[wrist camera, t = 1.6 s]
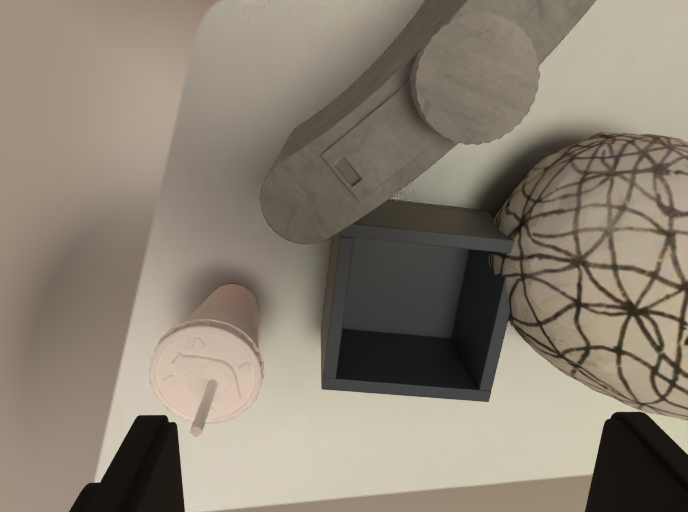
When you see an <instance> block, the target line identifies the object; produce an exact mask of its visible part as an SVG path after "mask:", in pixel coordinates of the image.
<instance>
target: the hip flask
mask: <svg viewBox="0 0 688 512" xmlns="http://www.w3.org/2000/svg"><path fill="white" fill-rule="evenodd" d="M595 1H596V0H426V1H425V2H424V4H423V5H422V6H421V8H420V9H419V11H418V12H417V14H416V15H415V16H414V18H413V19H412V20H411V21H410V23H409V24H408V25H407V27H406V28H405V29H404V30H403V32H402V33H401V34H400V35H399V36H398V38H397V39H396V40H395V41H394V42H393V43H392V45H391V46H390V47H389V48H388V49H387V50H386V51H385V52H384V53H383V54H382V56H381V57H380V58H379V59H378V60H377V61H376V62H375V63H374V64H373V65H372V66H371V67H370V68H369V69H368V70H367V71H366V72H365V73H364V74H363V75H362V76H361V77H360V78H359V79H358V80H357V81H356V82H354V83H353V84H352V85H351V86H350V87H349V88H348V89H347V90H346V91H345V92H343V93H342V94H341V95H340V96H339V97H338V98H336V99H335V100H334V101H333V102H331V103H330V104H329V105H328V106H326V107H325V108H324V109H323V110H321V111H320V112H318V113H317V114H316V115H314V116H313V117H311V118H310V119H308V120H307V121H305V122H304V123H302V124H301V125H299V126H298V127H297V128H295V129H294V131H293V132H292V133H291V135H290V137H289V138H288V140H287V142H286V144H285V145H284V147H283V149H282V151H281V152H280V154H279V156H278V158H277V159H276V161H275V163H274V165H273V166H272V168H271V170H270V171H269V173H268V175H267V177H266V179H265V180H264V183H263V186H262V189H261V196H260V202H261V209H262V212H263V215H264V218H265V219H266V221H267V223H268V225H269V226H270V227H271V228H272V229H273V231H274V232H276V233H277V234H278V235H279V236H281V237H283V238H284V239H286V240H288V241H291V242H294V243H299V244H314V243H318V242H322V241H324V240H326V239H328V238H330V237H332V236H334V235H335V234H337V233H338V232H340V231H342V230H343V229H345V228H346V227H348V226H350V225H351V224H353V223H354V222H356V221H357V220H359V219H360V218H362V217H363V216H365V215H366V214H368V213H369V212H371V211H372V210H374V209H375V208H377V207H378V206H380V205H381V204H383V203H384V202H385V201H387V200H388V199H389V198H391V197H392V196H393V195H395V194H396V193H397V192H399V191H400V190H401V189H403V188H404V187H405V186H407V185H408V184H409V183H411V182H412V181H413V180H414V179H416V178H417V177H418V176H419V175H421V174H422V173H423V172H425V171H426V170H427V169H428V168H430V167H431V166H432V165H433V164H435V163H436V162H437V161H438V160H439V159H440V158H442V157H443V156H444V155H445V154H446V153H447V152H449V151H450V150H451V149H452V148H453V147H454V146H456V145H457V144H458V143H463V144H466V145H467V144H476V145H479V144H481V143H489V142H491V141H493V140H495V139H499V138H501V137H503V136H504V135H505V134H506V133H509V132H511V131H512V130H513V129H514V127H515V126H517V125H518V124H520V123H521V121H522V119H523V117H524V116H525V115H526V114H528V112H529V109H530V106H531V105H532V104H533V102H534V100H535V94H536V92H537V90H538V81H539V78H540V73H539V70H538V69H539V65H540V64H541V63H542V62H543V61H544V60H545V58H546V57H547V56H548V55H549V54H550V53H551V52H552V51H553V50H554V49H555V48H556V46H557V45H558V44H559V43H560V42H561V41H562V40H563V39H564V38H565V36H566V35H567V34H568V33H569V32H570V31H571V30H572V28H573V27H574V26H575V25H576V24H577V23H578V21H579V20H580V19H581V18H582V17H583V16H584V15H585V13H586V12H587V11H588V10H589V9H590V7H591V6H592V5H593V4H594V2H595Z"/></svg>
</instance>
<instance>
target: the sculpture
mask: <svg viewBox="0 0 688 512" xmlns="http://www.w3.org/2000/svg"><path fill="white" fill-rule="evenodd" d="M493 221H494V224H495V225H496V226H497V227H498V229H499V230H500V231H502V232H503V233H504V234H505V235H507V236H508V237H510V238H511V239H513V240H514V245H513V248H512V251H511V253H500V252H490V251H489V254H488V262H489V265H490V267H491V269H492V271H493V273H494V274H495V275H496V274H499V273H500V274H501V275H502V276H503V277H504V276H505V274H506V288H507V296H508V301H509V306H510V314H509V318H508V321H509V322H510V323H511V325H512V326H513V327H514V328H515V330H516V331H517V332H518V333H519V335H520V336H521V337H522V338H523V339H524V340H525V341H526V342H527V343H528V344H529V345H530V346H531V347H532V348H533V349H534V350H535V351H536V352H537V353H539V354H540V355H541V356H542V357H544V358H545V359H546V360H547V361H549V362H550V363H551V364H552V365H554V366H555V367H556V368H558V369H559V370H560V371H562V372H563V373H565V374H566V375H568V376H570V377H572V378H574V379H576V380H578V381H580V382H581V383H583V384H584V385H586V386H588V387H589V388H591V389H592V390H595V391H597V392H599V393H602V394H605V395H607V396H610V397H613V398H615V399H617V400H618V401H620V402H622V403H624V404H626V405H629V406H631V407H633V408H636V409H639V410H641V411H644V412H647V413H651V414H658V415H665V416H671V417H675V418H679V419H684V420H688V143H687V142H685V141H683V140H680V139H678V138H671V137H666V136H659V135H651V134H645V135H636V134H613V133H602V132H601V133H599V134H596V135H594V136H592V137H590V138H588V139H586V140H583V141H580V142H577V143H575V144H573V145H571V146H568V147H566V148H564V149H562V150H560V151H559V152H557V153H555V154H552V155H548V156H546V157H545V158H543V159H542V160H541V161H540V162H539V163H538V164H537V165H535V166H534V167H533V168H532V169H531V170H530V171H529V172H528V173H527V175H526V176H525V178H524V179H523V180H522V181H521V182H520V183H519V184H518V185H517V186H516V188H515V189H514V191H513V192H512V194H511V195H510V197H509V198H508V199H507V200H506V202H505V203H504V205H503V206H502V208H501V209H500V211H499V212H498V213H497V214H496V216H495V218H494V220H493Z"/></svg>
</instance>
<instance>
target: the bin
mask: <svg viewBox="0 0 688 512" xmlns="http://www.w3.org/2000/svg"><path fill="white" fill-rule="evenodd" d="M493 220H494V218H493V217H492V216H491V215H489V214H488V213H486V212H485V211H484V210H478V209H469V208H460V207H450V206H441V205H432V204H423V203H414V202H404V201H395V200H387V201H385V202H384V203H383V204H381V205H380V206H378V207H377V208H375V209H374V210H372V211H371V212H369V213H368V214H366V215H365V216H363V217H362V218H360V219H359V220H357V221H356V222H354V223H353V224H351V225H350V226H348V227H346V228H345V229H343V230H342V231H340V232H338V233H337V234H335V235H334V236H332V239H331V247H330V256H329V265H328V273H327V282H326V290H325V299H324V308H323V316H322V325H321V383H322V389H326V390H339V391H352V392H366V393H379V394H392V395H405V396H418V397H431V398H444V399H457V400H471V401H484V402H489V398H490V394H491V389H492V385H493V381H494V377H495V373H496V368H497V364H498V360H499V356H500V352H501V348H502V343H503V339H504V335H505V331H506V327H507V323H508V318H509V314H510V306H509V301H508V296H507V288H506V274H505V276H504V277H503V276H502V275H501V274H500V273H499V274H496V275H495V274H494V273H493V271H492V269H491V267H490V265H489V262H488V254H489V251H490V252H500V253H511V251H512V248H513V245H514V240H513V239H511V238H510V237H508V236H507V235H505V234H504V233H503V232H502V231H500V230H499V229H498V227H497V226H496V225H495V224H494V221H493Z"/></svg>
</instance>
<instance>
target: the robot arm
mask: <svg viewBox="0 0 688 512" xmlns="http://www.w3.org/2000/svg"><path fill="white" fill-rule="evenodd" d="M69 512H185V509H184V498H183V486H182V475H181V464H180V453H179V442H178V431H177V425H176V423H175V422H168V418H167V416H166V415H140V416H137V418H136V419H135V421H134V423H133V424H132V426H131V428H130V430H129V432H128V433H127V435H126V437H125V439H124V441H123V442H122V444H121V446H120V448H119V450H118V451H117V453H116V455H115V457H114V459H113V460H112V462H111V464H110V466H109V468H108V469H107V471H106V473H105V475H104V477H103V478H102V480H101V482H100V483H89V484H87V485H86V486H85V487H84V489H83V490H82V491H81V493H80V494H79V496H78V498H77V499H76V501H75V503H74V504H73V506H72V508H71V510H70V511H69ZM585 512H688V455H687V454H686V453H685V452H684V451H683V450H682V449H681V448H680V447H679V446H678V445H677V444H676V443H675V442H674V441H673V440H672V439H671V438H670V437H669V436H668V435H667V434H666V433H665V432H664V431H663V430H662V429H661V428H660V427H659V426H658V425H657V424H656V423H655V422H654V421H653V420H652V419H651V418H650V417H649V416H648V415H646V414H645V413H643V412H616V413H614V414H613V415H612V416H611V419H608V420H606V421H605V423H604V427H603V431H602V436H601V441H600V445H599V450H598V454H597V459H596V464H595V468H594V473H593V477H592V482H591V487H590V491H589V496H588V500H587V505H586V510H585Z"/></svg>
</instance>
